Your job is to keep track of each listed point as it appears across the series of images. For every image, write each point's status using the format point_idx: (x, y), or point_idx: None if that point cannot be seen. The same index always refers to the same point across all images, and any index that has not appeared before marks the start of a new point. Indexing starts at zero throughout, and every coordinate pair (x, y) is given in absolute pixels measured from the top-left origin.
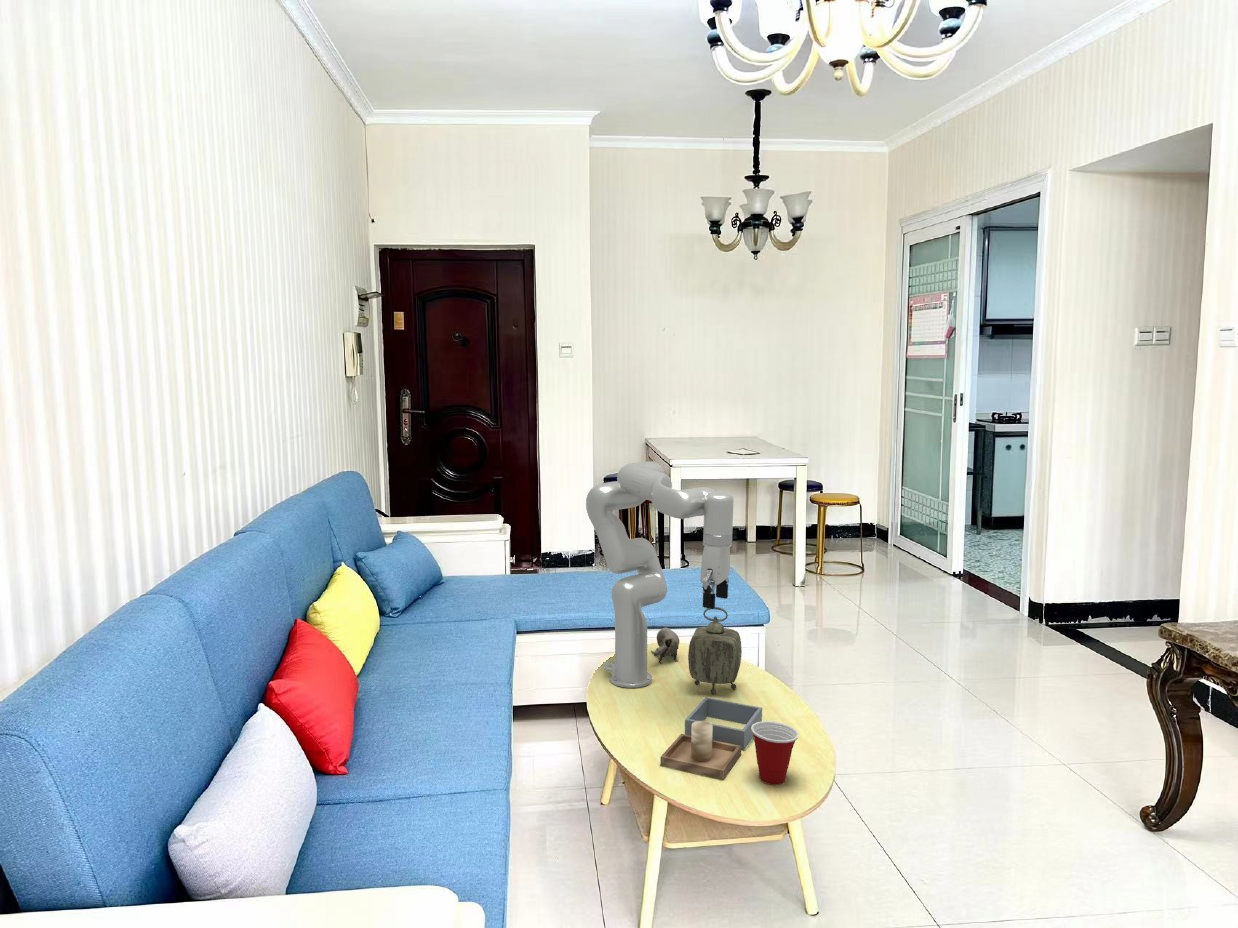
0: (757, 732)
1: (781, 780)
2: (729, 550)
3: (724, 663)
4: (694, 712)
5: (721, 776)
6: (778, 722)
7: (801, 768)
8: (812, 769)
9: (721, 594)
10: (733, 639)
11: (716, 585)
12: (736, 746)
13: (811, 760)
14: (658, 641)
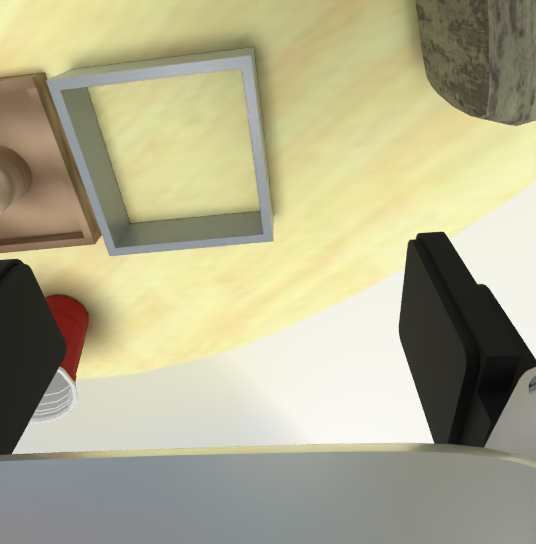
0: None
1: None
2: None
3: (448, 61)
4: (113, 82)
5: None
6: (70, 380)
7: (138, 339)
8: (149, 353)
9: (411, 315)
10: (528, 114)
11: (459, 332)
12: (84, 236)
13: (180, 343)
14: None
